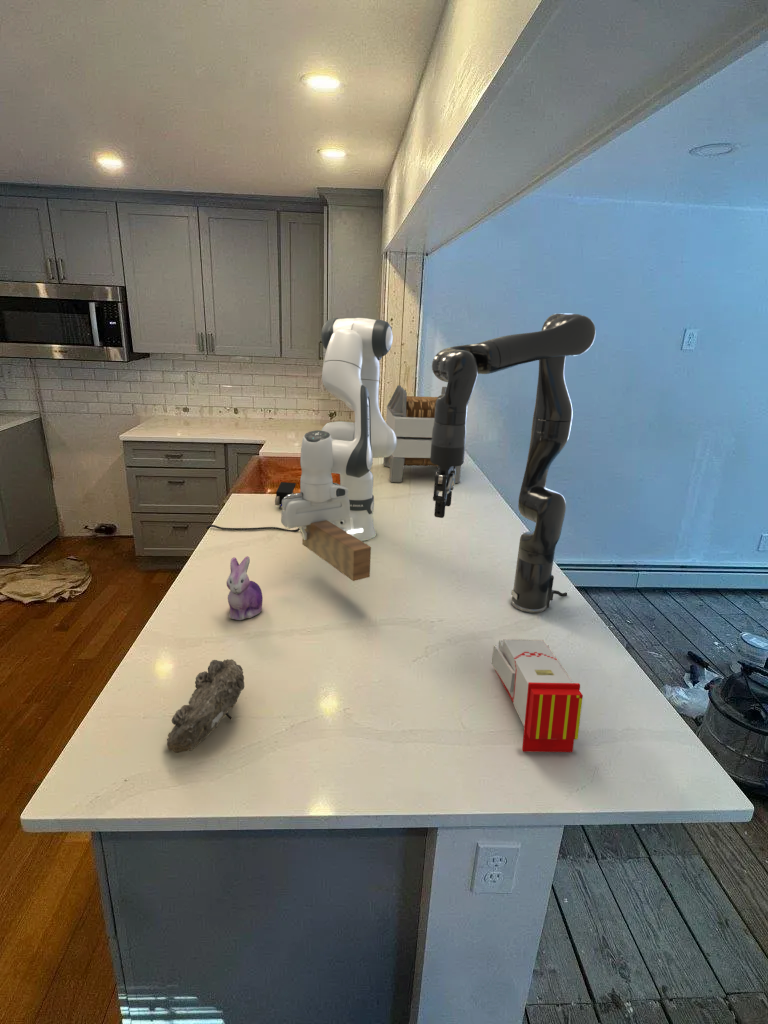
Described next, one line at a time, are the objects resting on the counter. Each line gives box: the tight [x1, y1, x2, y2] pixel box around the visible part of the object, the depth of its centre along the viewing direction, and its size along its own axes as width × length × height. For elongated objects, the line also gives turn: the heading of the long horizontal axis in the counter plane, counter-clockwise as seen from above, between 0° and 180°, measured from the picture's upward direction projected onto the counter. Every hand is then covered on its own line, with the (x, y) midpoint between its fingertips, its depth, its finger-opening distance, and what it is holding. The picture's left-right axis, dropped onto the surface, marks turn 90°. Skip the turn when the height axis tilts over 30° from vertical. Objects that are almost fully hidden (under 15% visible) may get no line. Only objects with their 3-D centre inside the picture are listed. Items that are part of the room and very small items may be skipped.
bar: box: [301, 520, 372, 582], centre depth 153 cm, size 28×5×8 cm, turn 35°
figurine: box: [226, 555, 264, 621], centre depth 142 cm, size 9×10×15 cm
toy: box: [491, 638, 584, 753], centre depth 114 cm, size 12×13×30 cm
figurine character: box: [274, 481, 297, 510], centre depth 222 cm, size 7×8×15 cm
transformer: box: [383, 384, 462, 484], centre depth 268 cm, size 34×33×41 cm
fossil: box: [166, 658, 245, 754], centre depth 106 cm, size 22×10×15 cm
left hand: (315, 537), depth 161 cm, fingers closed on bar, 5 cm apart
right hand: (442, 511), depth 131 cm, fingers open, 8 cm apart
